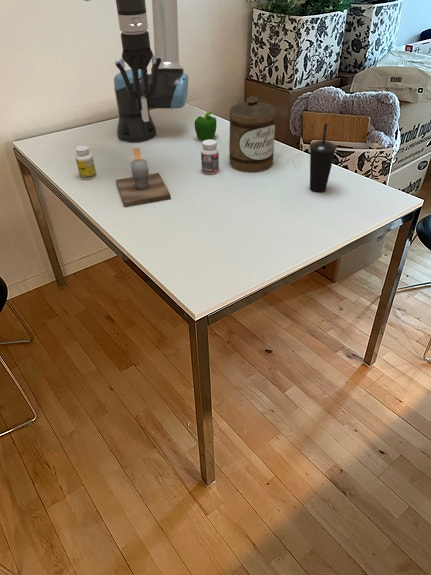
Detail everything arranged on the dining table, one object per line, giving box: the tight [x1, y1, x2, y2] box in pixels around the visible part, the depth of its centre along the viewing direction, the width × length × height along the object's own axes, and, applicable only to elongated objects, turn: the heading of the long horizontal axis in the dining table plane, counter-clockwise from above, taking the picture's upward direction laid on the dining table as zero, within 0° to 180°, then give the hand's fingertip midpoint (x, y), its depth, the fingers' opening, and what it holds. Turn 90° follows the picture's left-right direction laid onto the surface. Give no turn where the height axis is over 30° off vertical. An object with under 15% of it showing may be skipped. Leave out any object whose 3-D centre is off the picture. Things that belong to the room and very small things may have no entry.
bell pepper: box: [194, 110, 218, 142], centre depth 170 cm, size 8×8×10 cm
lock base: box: [115, 172, 172, 208], centre depth 140 cm, size 16×14×5 cm
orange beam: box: [129, 147, 150, 179], centre depth 140 cm, size 14×5×4 cm, turn 12°
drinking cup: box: [309, 123, 338, 194], centre depth 133 cm, size 8×8×20 cm
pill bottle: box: [200, 139, 220, 175], centre depth 148 cm, size 6×6×10 cm
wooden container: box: [228, 95, 276, 173], centre depth 148 cm, size 15×15×22 cm
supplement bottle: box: [75, 145, 97, 180], centre depth 148 cm, size 5×5×10 cm
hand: (145, 119), depth 136 cm, fingers closed
